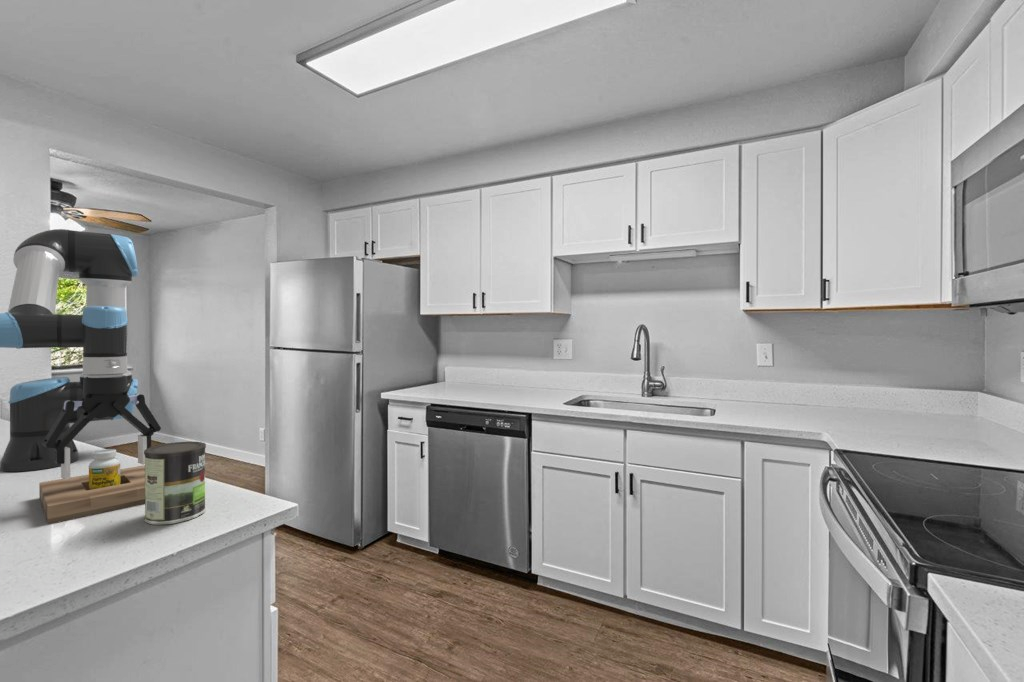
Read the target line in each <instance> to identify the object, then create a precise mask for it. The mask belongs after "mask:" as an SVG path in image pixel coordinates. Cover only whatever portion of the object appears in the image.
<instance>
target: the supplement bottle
mask: <svg viewBox="0 0 1024 682" xmlns="http://www.w3.org/2000/svg"><path fill="white" fill-rule="evenodd" d="M116 457H117V449H115V448H107V449H106V448H105V449H99V450H96V451H93V452H92V459H93V461H91V462H90V463H89V464H88V475H89V490H93V489H98V488H104V487H109V486H115V485H120V484H121V476H120V469H121V460H120V459H119V458H116Z"/></svg>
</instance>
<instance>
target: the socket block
mask: <svg viewBox="0 0 1024 682" xmlns="http://www.w3.org/2000/svg"><path fill="white" fill-rule="evenodd" d="M120 476H121V484H120V485H115V486H109V487H104V488H98V489H93V490H89V474H85V475H83V474H82V475H78V476H72V477H71V476H70V479H68V480H65V479H63V478H60V479H55V480H54V479H53V480H47V481H46V480H45V481H43V482H39V484H38V486H39V494H38V495H39V500H40V504H41V507H42V510H43V513H45V514H44V517H45V516H46V517H45V519H46V522H47V524H48V525H51V524H57V523H60V522H59V521H61V522H64V521H65V520H66V521H69V519H70V520H73V518H75V519H79V518H78V517H80V518H83V517H82V516H84V517H88V516H87V515H89V516H93V514H94V515H97V514H103V513H107V511H108V512H112V511H116V510H121V509H126V508H131V507H136V506H139V505H145V464H143V465H139V466H131V467H126V468H120Z"/></svg>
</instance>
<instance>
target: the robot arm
mask: <svg viewBox="0 0 1024 682" xmlns="http://www.w3.org/2000/svg"><path fill="white" fill-rule="evenodd" d="M12 262H13V264H14V266H15V268H16V272H15V276H14V282H13V286H12V291H11V295H10V300H9V305H8V309H7V311H6V312H1V313H0V348H7V349H8V348H9V349H11V348H14V349H37V348H38V349H39V348H41V349H42V348H43V349H44V348H45V349H46V348H51V349H52V348H82V352H83V353H82V373H81V374H79V381H71V379H70V377H68V376H61V377H50V378H42V379H41V378H40V379H35V380H29V381H25V382H20V383H16V384H14V385H13V386H12V387H11V388H10V392H9V401H8V404H9V441H8V443H7V446H6V448H5V449H4V453H3V455H2V458H1V459H0V470H1V471H4V472H29V471H30V472H31V471H38V470H44V469H51V468H55V467H60V477H61V478H60V479H65V480H68V479H70V478H71V464H72V463H73V462H76V461H78V459H79V451H78V448H77V445H76V443H75V442H74V439H75V437H76V436H78V434H79V433H80V432H81V431H82V430H83V429H84V428H85V427H86V426H87V425H88V424H89V423H90V422H96V421H97V422H99V421H109V420H110V421H114V420H120V419H124V420H125V421H127V422H128V423H129V424H130V425H131V426H133V427H134V428H135V429H136V430H138V432H140V433H141V434H139V435H138V434H137V463H138V464H141V465H145V455H144V450H146V449H147V448H150V447H152V436H154V434H155V433H156V432H160V431H161V429H162V427H161V425H160V424H159V423H158V421H157V420H156V418H155V415H153V413H152V411H151V410H150V408H149V407H148V406H147V404H146V399H145V395H144V394H142V393H138V387H139V380H138V379H137V378H133V376H132V375H133V373H132V372H131V371H130V370H128V324H129V323H128V322H129V320H128V314H127V312H128V311H127V310H126V288H127V287H128V286H129V285H131V284H132V283H133V281H132V279H133V278H136V277H138V275H139V270H138V262H137V256H136V251H135V247H134V243H133V241H132V239H131V238H129V237H127V236H123V235H118V234H112V233H100V232H92V231H82V230H81V231H80V230H69V229H64V228H59V229H48V230H45V231H41V232H38V233H36V234H34V235H31V236H30V237H28V238H26V239H25V240H23V241H22V242H20V244H18V246H17V248H16V249H15V250H14V254H13V261H12ZM63 272H65V273H76V274H77V273H78V279H79V281H80V282H81V283H83V284H84V285H85V291H86V295H85V297H86V304H85V305H86V306H85V307H83V310H82V314H59V313H57V314H56V307H57V306H56V305H57V295H58V287H59V277H60V275H61V274H62V273H63ZM135 407H136V409H137V410H138V412H139V413H140V415H141V416H142V418H143V419H144V421H145V423H146V424H147V425H148V427H147V426H146V425H145V424H144V423H142V422H141V420H139V419H138V418H137V417H136V416H135V415H133V413H134V411H135ZM70 424H72V425H70Z"/></svg>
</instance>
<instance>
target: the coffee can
mask: <svg viewBox="0 0 1024 682" xmlns="http://www.w3.org/2000/svg"><path fill="white" fill-rule="evenodd" d="M206 446H207V445H206V443H205V442H202V441H175V442H169V443H168V442H167V443H163V444H158V445H157V444H156V445H154V446H151V447H150V448H147V449H146V450H144V455H145V464H144V465H145V504H144V505H145V507H144V508H145V509H144V511H145V516H144V517H145V518H144V521H145V523H146V524H149V525H153V526H162V525H172V524H178V523H183V522H186V521H190V520H193V519H195V518H198V517H199V515H200V516H202V515H203V514H204V513H206V510H207V509H206ZM201 514H202V515H201Z"/></svg>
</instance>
